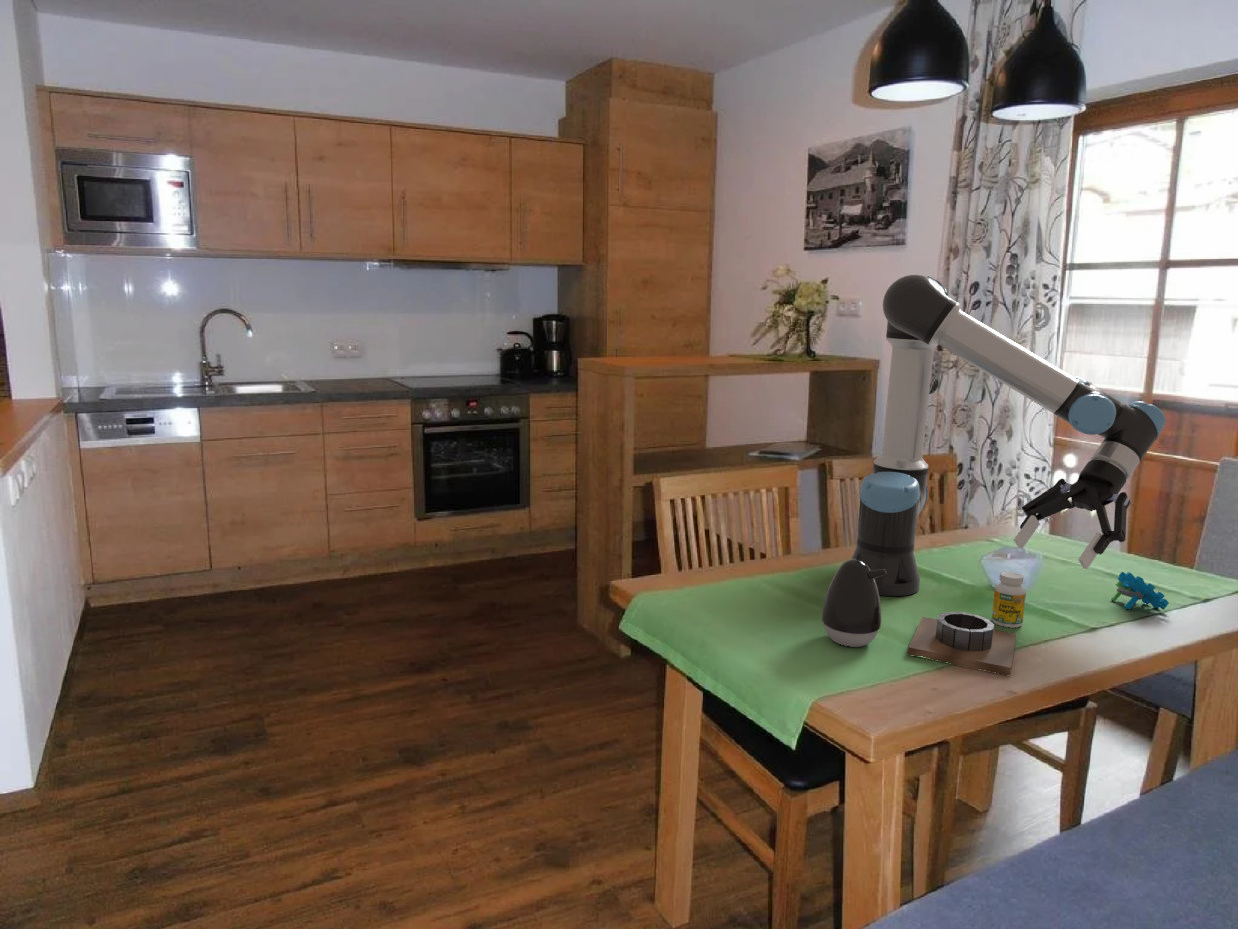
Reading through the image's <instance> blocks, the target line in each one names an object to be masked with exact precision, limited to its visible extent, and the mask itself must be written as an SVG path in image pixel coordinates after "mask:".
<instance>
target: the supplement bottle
mask: <svg viewBox="0 0 1238 929" xmlns="http://www.w3.org/2000/svg"><path fill="white" fill-rule="evenodd" d="M999 581H1000V582H998V583H996V585H994V591H993V592H994V594H993V600H992V601H993V603H992V613H991V622H992V623H993V624H994V625H998V626H1001V627H1003V626H1004V627H1005V628H1008V627H1010V628H1011V629H1012V628H1014V629H1015V627H1016V628H1019V627H1021V626H1022V625H1023V622H1024V614H1025V613H1024V612H1025V604H1026V596H1027V595H1026V594H1027V590H1026V588H1025V586H1023V584H1024V575H1022V574H1021V573H1018V572H1013V571H1002V572H1000V574H999Z"/></svg>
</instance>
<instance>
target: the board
mask: <svg viewBox="0 0 1238 929" xmlns="http://www.w3.org/2000/svg"><path fill="white" fill-rule="evenodd" d="M937 619H938V618H937ZM937 619H936V618H931V617H926V616H922V618H921V620H920V621H919V624H918V626H917V628H916V630H915V632H914V635H913V637H912V638H911V641H910V644H909V645H908V647H907V648H908V650H907V655H908V654H909V655H914V656H923V657H926V658H930V659H933V660H938V661H941V662H940V663H942V662H948V663H951V664H950V665H952V664H954V665H953V666H958V667H962V666H963V667H962V668H967V669H972V670H977V669H981V670H986V671H990V672H989V673H991V672H996V673H999V674H998V675H1001V674H1004V675H1003V676H1006V675H1010V676H1011V673H1012V666H1013V665H1012V664H1013V659H1014V655H1015V654H1014V653H1015V647H1016V642H1017V641H1016V639H1017V633H1013V632H1010V631H1009V632H1008V631H1003V630H997V629H994V631H993V639H992V646H991V648H990V649H987V650H984V651H965V650H960V649H955V648H952V647H949V646H947V645H944V644H942V643H941V642H940V641H939V640H938V639H937V638H936V629H937ZM933 660H932V661H933ZM981 670H980V671H981ZM986 671H985V672H986ZM996 673H995V674H996Z"/></svg>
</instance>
